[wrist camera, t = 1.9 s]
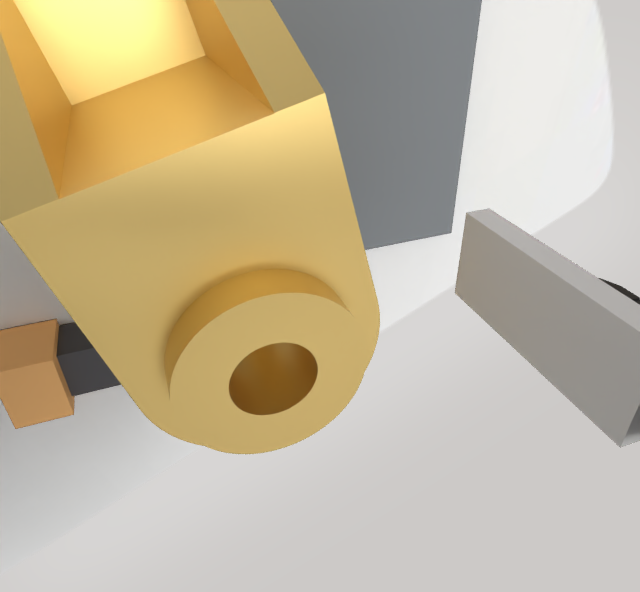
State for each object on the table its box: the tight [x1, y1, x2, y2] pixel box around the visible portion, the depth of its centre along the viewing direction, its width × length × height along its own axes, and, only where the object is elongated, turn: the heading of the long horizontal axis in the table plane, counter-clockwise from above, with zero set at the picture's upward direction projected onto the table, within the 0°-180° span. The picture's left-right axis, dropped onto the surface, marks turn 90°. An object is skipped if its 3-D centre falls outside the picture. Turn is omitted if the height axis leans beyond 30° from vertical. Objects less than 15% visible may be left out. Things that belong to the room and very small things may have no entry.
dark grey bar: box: [0, 319, 121, 429], centre depth 32 cm, size 17×4×4 cm, turn 92°
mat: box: [270, 0, 482, 250], centre depth 30 cm, size 12×18×1 cm, turn 2°
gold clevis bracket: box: [0, 0, 380, 454], centre depth 20 cm, size 20×9×16 cm, turn 16°
